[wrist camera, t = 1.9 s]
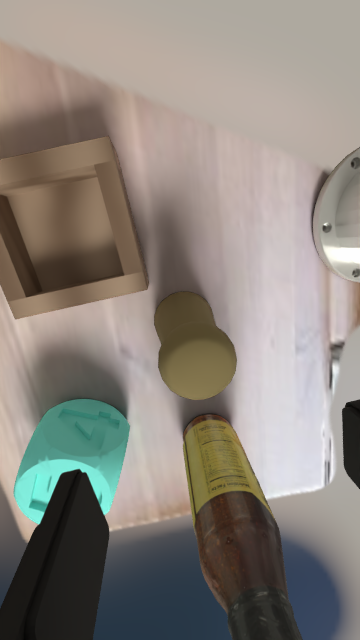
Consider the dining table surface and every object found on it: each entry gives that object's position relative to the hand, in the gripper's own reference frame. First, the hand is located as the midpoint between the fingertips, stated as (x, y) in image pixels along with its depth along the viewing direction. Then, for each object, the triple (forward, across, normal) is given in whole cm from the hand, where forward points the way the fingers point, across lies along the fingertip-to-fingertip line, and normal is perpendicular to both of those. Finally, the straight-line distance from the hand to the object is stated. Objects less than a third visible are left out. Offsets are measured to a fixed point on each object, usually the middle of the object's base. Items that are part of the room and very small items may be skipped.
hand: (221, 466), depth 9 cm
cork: (+18, -1, 0) cm, 18 cm away
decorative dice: (+18, +12, +10) cm, 24 cm away
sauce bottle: (+18, -1, +14) cm, 23 cm away
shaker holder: (+18, +7, -10) cm, 22 cm away
